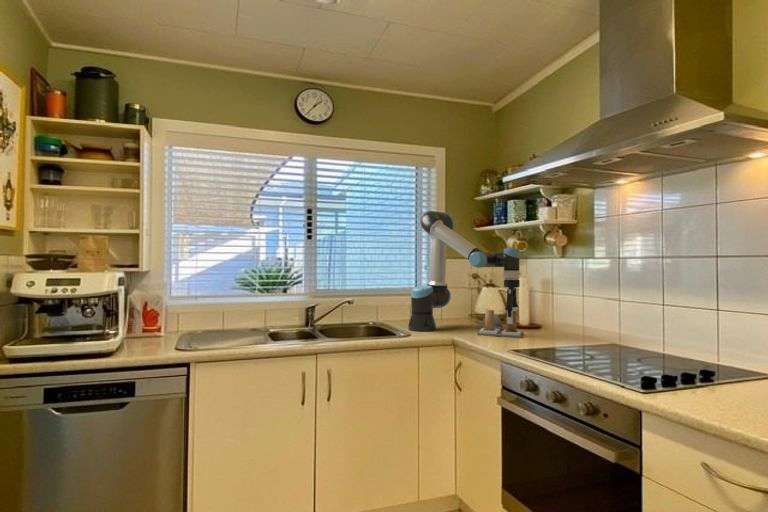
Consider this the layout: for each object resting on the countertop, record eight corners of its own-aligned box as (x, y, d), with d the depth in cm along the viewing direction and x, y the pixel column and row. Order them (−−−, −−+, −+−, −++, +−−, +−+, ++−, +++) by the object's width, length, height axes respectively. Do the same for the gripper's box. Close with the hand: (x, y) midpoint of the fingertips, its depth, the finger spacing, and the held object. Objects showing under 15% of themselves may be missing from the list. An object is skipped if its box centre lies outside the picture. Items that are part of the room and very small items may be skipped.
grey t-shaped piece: (477, 335, 220) (477, 311, 220) (482, 331, 230) (482, 308, 231) (520, 338, 211) (520, 313, 211) (523, 334, 222) (523, 310, 222)
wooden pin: (506, 333, 217) (506, 311, 218) (508, 332, 221) (507, 310, 222) (515, 334, 216) (515, 312, 216) (517, 333, 220) (516, 311, 220)
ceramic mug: (481, 329, 240) (481, 315, 240) (488, 327, 246) (488, 313, 246) (499, 331, 233) (499, 316, 233) (506, 329, 239) (506, 315, 239)
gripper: (516, 280, 206) (516, 325, 206) (522, 278, 229) (522, 319, 228) (499, 280, 209) (499, 324, 209) (507, 278, 232) (507, 318, 232)
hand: (511, 321), depth 219 cm, fingers open, 13 cm apart
